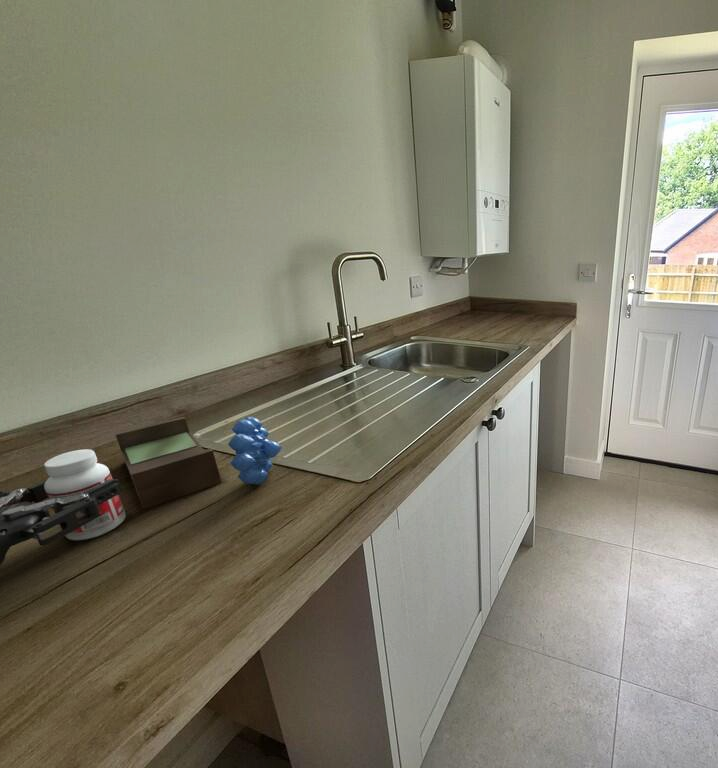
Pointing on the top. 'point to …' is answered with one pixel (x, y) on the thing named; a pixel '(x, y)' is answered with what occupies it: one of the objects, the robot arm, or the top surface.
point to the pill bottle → (83, 489)
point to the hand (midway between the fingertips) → (91, 482)
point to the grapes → (252, 450)
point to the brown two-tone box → (166, 461)
